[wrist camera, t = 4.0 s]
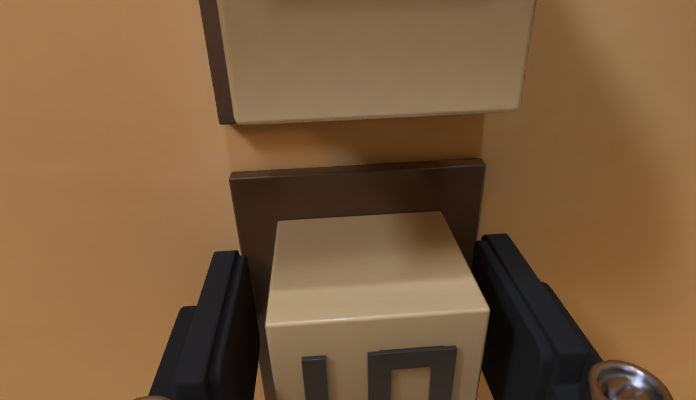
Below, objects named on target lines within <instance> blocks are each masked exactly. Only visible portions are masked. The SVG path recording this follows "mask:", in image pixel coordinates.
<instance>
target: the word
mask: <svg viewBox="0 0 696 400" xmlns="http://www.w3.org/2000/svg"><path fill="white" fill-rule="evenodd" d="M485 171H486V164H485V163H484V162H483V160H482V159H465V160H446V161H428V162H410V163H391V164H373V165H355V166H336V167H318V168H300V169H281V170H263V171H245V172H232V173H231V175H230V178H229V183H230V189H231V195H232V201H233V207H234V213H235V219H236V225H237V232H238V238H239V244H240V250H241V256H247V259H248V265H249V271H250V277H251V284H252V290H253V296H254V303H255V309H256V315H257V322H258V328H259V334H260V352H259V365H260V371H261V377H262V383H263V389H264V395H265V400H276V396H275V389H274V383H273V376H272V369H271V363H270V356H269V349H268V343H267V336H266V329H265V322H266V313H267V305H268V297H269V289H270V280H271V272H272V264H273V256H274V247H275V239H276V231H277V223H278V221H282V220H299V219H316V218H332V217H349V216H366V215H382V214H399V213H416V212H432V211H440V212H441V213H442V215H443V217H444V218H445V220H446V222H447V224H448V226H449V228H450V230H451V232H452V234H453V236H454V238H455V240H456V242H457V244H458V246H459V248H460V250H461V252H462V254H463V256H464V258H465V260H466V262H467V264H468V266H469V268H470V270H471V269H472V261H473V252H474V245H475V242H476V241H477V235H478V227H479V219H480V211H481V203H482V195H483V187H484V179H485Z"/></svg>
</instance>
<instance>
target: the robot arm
mask: <svg viewBox="0 0 696 400" xmlns="http://www.w3.org/2000/svg"><path fill="white" fill-rule="evenodd" d="M471 272H472V274H473V276H474V278H475V280H476V282H477V284H478V286H479V288H480V290H481V292H482V294H483V296H484V298H485V300H486V302H487V304H488V306H489V308H490V314H489V321H488V327H487V334H486V341H485V347H484V354H483V360H482V367H481V369H482V372H483V374H484V376H485V379H486V381H487V384H488V386H489V389H490V391H491V394H492V396H493V398H494V400H673V398H672V396H671V394H670V392H669V391H668V389H667V387H666V386H665V385H664V384H663V383H662V382H661V381H660V380H659V379H658V378H657V377H656V376H654V375H653V374H651V373H650V372H648V371H647V370H645V369H643V368H641V367H639V366H637V365H635V364H632V363H628V362H624V361H619V360H606V361H603V360H602V359H601V357H600V356H599V354H598V353H597V352H596V350H595V349H594V348H593V346H592V345H591V343H590V342H589V341H588V339H587V338H586V336H585V335H584V334H583V332H582V331H581V329H580V328H579V327H578V325H577V324H576V322H575V321H574V320H573V318H572V317H571V315H570V314H569V313H568V311H567V310H566V308H565V307H564V306H563V304H562V303H561V301H560V300H559V299H558V297H557V296H556V294H555V293H554V292H553V290H552V289H551V287H550V286H549V285H548V284H547V283H544V282H540V280H539V279H538V277H537V276H536V274H535V273H534V272H533V270H532V269H531V267H530V266H529V264H528V263H527V262H526V260H525V259H524V257H523V256H522V254H521V253H520V252H519V250H518V249H517V247H516V246H515V244H514V243H513V241H512V240H511V239H510V237H509V236H508V235H507V234H489V235H483V236H482V238H481V241H476V242H475V245H474V252H473V261H472V269H471ZM259 352H260V334H259V328H258V322H257V315H256V309H255V303H254V296H253V290H252V284H251V277H250V271H249V265H248V259H247V256H240V255H239V252H238V251H237V250H234V251H218V252H214V254H213V257H212V260H211V263H210V267H209V270H208V273H207V276H206V279H205V282H204V285H203V288H202V291H201V295H200V298H199V301H198V304H197V306H184V307H182V308H181V309H180V311H179V313H178V316H177V319H176V321H175V324H174V327H173V330H172V332H171V335H170V338H169V341H168V343H167V346H166V349H165V351H164V354H163V357H162V360H161V362H160V365H159V368H158V371H157V373H156V376H155V379H154V382H153V384H152V387H151V390H150V393H149V395H148V396H145V397H140V398H136V399H134V400H253V399H254V391H255V384H256V376H257V368H258V360H259Z"/></svg>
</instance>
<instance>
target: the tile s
mask: <svg viewBox="0 0 696 400" xmlns="http://www.w3.org/2000/svg"><path fill="white" fill-rule="evenodd" d="M489 314H490V308H489V306H488V304H487V302H486V300H485V298H484V296H483V294H482V292H481V290H480V288H479V286H478V284H477V282H476V280H475V278H474V276H473V274H472V272H471V270H470V268H469V266H468V264H467V262H466V260H465V258H464V256H463V254H462V252H461V250H460V248H459V246H458V244H457V242H456V240H455V238H454V236H453V234H452V232H451V230H450V228H449V226H448V224H447V222H446V220H445V218H444V217H443V215H442V213H441V212H440V211H432V212H416V213H399V214H382V215H366V216H349V217H332V218H316V219H299V220H282V221H278V223H277V231H276V239H275V247H274V256H273V264H272V272H271V280H270V289H269V297H268V305H267V313H266V322H265V329H266V336H267V343H268V349H269V356H270V363H271V369H272V376H273V383H274V389H275V396H276V400H477V393H478V387H479V380H480V373H481V367H482V360H483V354H484V347H485V341H486V334H487V327H488V321H489Z"/></svg>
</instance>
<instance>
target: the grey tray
mask: <svg viewBox="0 0 696 400" xmlns="http://www.w3.org/2000/svg"><path fill="white" fill-rule="evenodd" d="M199 4H200V10H201V16H202V22H203V28H204V34H205V40H206V46H207V52H208V58H209V64H210V70H211V76H212V82H213V88H214V94H215V100H216V106H217V112H218V118H219V123H220V124H221V125H226V124H239V125H262V124H282V123H302V122H323V121H343V120H363V119H383V118H403V117H423V116H443V115H463V114H483V113H504V112H515V111H517V110H519V108H520V104H521V98H522V91H523V84H524V78H525V71H526V64H527V58H528V51H529V45H530V38H531V31H532V25H533V18H534V12H535V5H536V0H199Z"/></svg>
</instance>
